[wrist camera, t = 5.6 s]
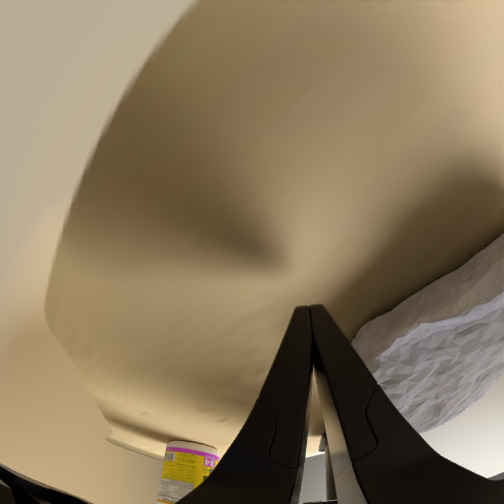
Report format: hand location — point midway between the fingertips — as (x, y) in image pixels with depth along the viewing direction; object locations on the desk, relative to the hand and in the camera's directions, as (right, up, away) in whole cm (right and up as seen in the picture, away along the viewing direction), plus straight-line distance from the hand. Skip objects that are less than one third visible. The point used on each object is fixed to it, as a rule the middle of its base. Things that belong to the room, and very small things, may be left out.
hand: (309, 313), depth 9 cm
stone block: (+4, +1, 0) cm, 4 cm away
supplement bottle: (-9, -22, +19) cm, 30 cm away
